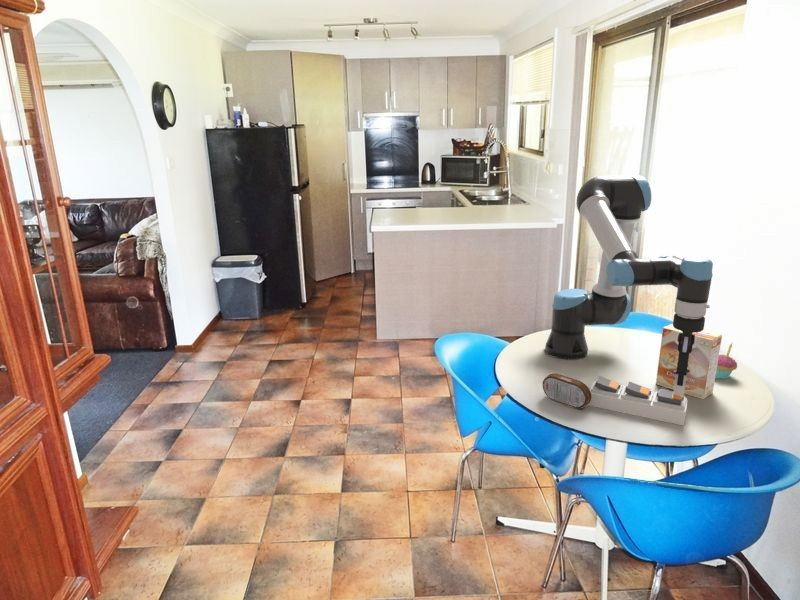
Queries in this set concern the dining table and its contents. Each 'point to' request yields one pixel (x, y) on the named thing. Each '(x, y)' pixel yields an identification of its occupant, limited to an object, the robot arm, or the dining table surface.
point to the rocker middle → (637, 390)
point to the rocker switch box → (638, 405)
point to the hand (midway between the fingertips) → (678, 394)
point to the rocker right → (669, 397)
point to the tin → (566, 390)
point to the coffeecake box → (690, 361)
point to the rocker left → (606, 384)
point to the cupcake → (725, 365)
